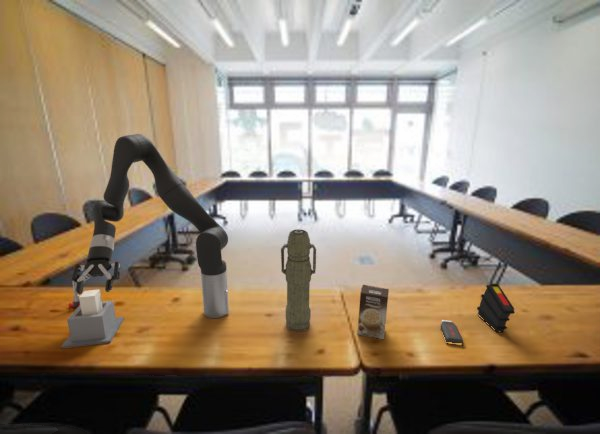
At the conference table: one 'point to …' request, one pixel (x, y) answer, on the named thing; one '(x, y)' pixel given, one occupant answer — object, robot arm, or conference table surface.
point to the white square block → (91, 302)
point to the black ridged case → (495, 307)
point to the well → (92, 327)
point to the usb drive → (451, 332)
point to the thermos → (298, 279)
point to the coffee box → (372, 311)
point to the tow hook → (75, 297)
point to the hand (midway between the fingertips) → (93, 292)
